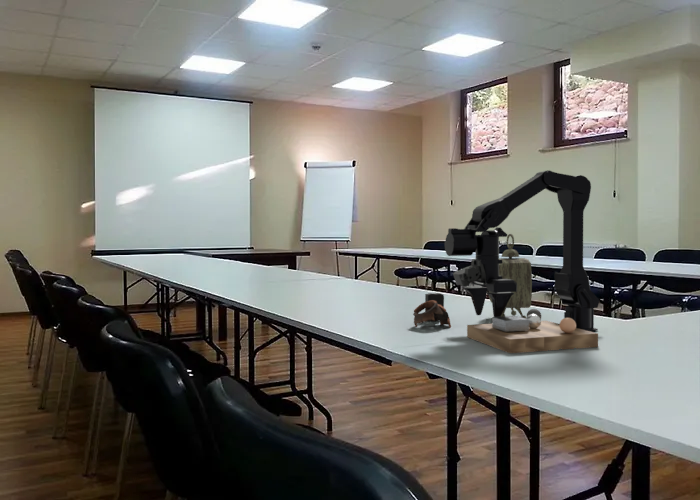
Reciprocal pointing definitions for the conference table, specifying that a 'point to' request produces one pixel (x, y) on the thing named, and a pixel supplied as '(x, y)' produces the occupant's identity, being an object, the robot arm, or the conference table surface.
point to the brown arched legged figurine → (431, 313)
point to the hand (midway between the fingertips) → (487, 317)
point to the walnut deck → (532, 338)
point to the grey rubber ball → (534, 312)
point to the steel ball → (534, 321)
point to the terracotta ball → (567, 325)
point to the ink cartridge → (435, 298)
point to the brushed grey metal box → (510, 323)
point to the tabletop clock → (516, 278)
